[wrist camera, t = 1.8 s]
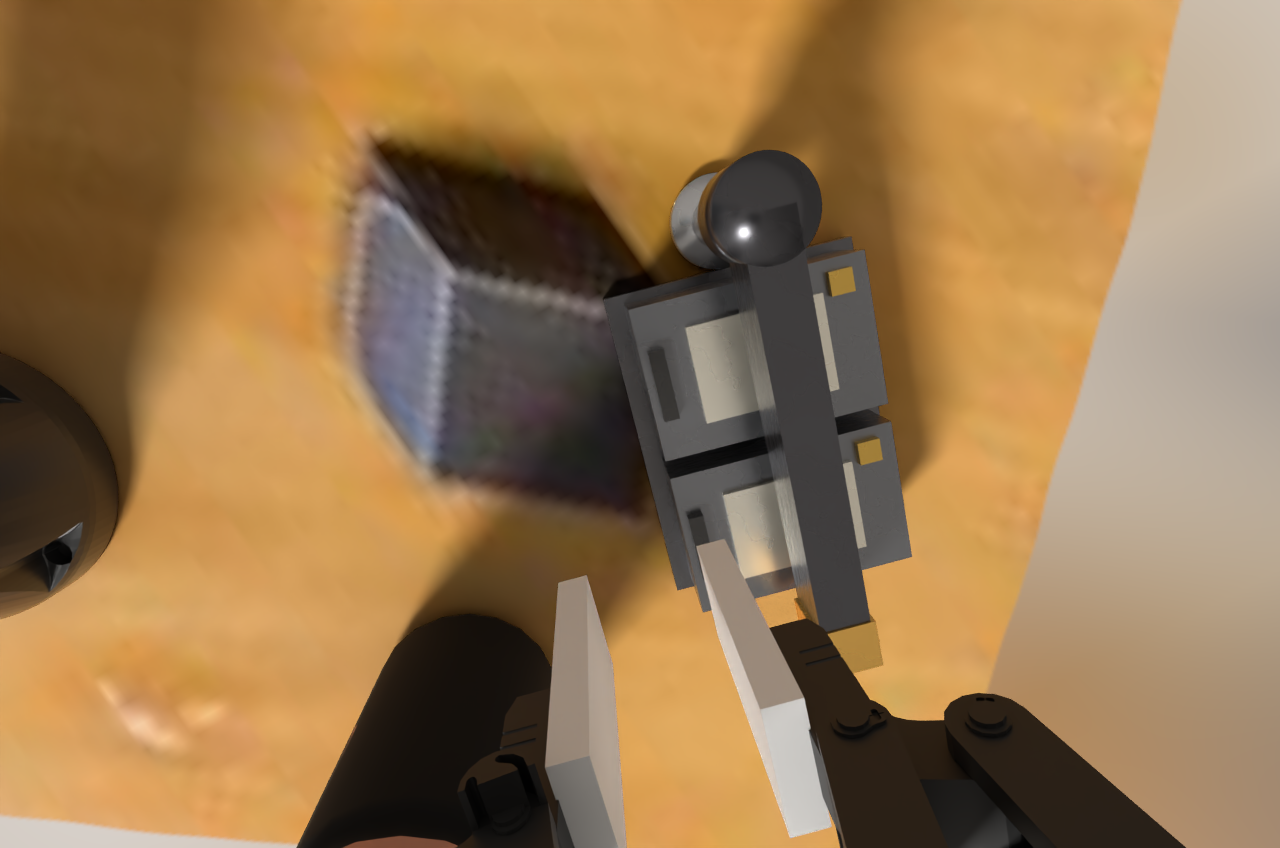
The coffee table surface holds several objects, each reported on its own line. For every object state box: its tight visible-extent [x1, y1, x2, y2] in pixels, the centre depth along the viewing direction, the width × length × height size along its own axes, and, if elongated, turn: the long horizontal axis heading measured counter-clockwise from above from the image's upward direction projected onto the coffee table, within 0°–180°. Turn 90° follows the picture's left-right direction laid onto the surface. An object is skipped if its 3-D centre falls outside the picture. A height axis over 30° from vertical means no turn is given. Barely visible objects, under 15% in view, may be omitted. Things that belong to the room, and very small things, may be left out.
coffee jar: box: [297, 614, 552, 848], centre depth 34 cm, size 11×11×18 cm
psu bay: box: [603, 237, 912, 612], centre depth 38 cm, size 14×18×6 cm
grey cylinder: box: [670, 173, 730, 269], centre depth 34 cm, size 5×5×7 cm
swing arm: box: [698, 150, 883, 673], centre depth 31 cm, size 24×4×4 cm, turn 14°
